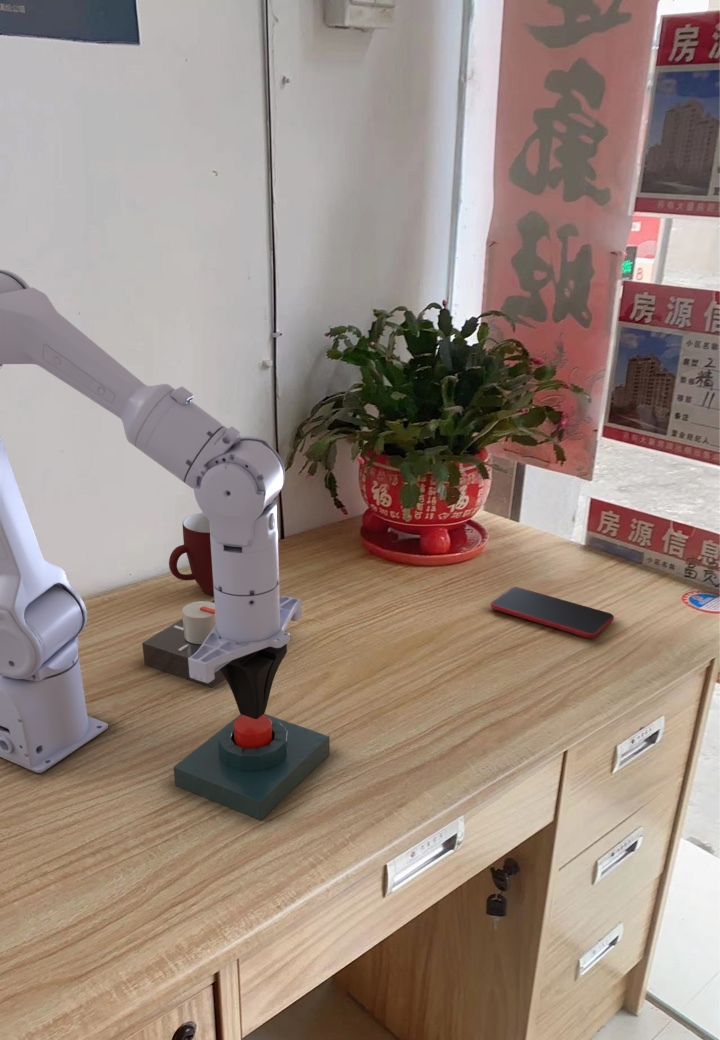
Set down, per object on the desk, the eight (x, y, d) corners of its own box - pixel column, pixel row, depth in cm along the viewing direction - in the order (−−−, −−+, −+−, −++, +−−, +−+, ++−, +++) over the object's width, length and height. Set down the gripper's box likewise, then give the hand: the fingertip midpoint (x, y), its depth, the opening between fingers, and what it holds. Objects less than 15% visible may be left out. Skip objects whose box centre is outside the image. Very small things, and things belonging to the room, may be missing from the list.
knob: (176, 638, 104) (173, 609, 102) (200, 623, 107) (198, 595, 105) (206, 647, 102) (204, 618, 100) (229, 632, 105) (227, 604, 103)
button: (257, 753, 83) (257, 738, 82) (226, 742, 84) (225, 727, 83) (279, 735, 85) (278, 720, 85) (249, 724, 87) (248, 709, 86)
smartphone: (513, 585, 124) (616, 614, 116) (513, 591, 124) (615, 620, 116) (488, 603, 118) (594, 635, 111) (487, 609, 119) (593, 641, 111)
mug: (192, 612, 116) (186, 542, 111) (160, 592, 122) (154, 524, 117) (257, 591, 122) (255, 523, 118) (225, 573, 128) (221, 507, 123)
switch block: (261, 820, 80) (259, 785, 78) (174, 785, 84) (171, 751, 82) (329, 754, 89) (330, 721, 87) (248, 725, 93) (247, 693, 91)
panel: (212, 687, 100) (210, 663, 98) (144, 664, 104) (141, 641, 102) (281, 638, 111) (280, 615, 109) (217, 619, 115) (216, 597, 113)
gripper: (233, 625, 70) (240, 765, 76) (328, 563, 81) (328, 690, 87) (164, 605, 73) (177, 741, 79) (265, 548, 84) (269, 671, 90)
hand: (252, 713), depth 83 cm, fingers closed
